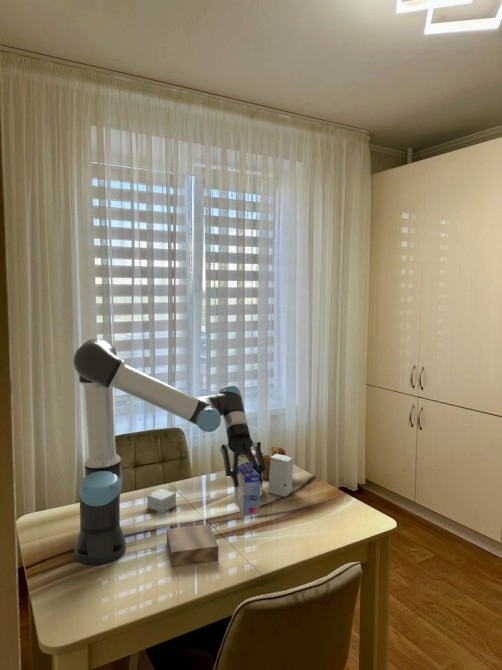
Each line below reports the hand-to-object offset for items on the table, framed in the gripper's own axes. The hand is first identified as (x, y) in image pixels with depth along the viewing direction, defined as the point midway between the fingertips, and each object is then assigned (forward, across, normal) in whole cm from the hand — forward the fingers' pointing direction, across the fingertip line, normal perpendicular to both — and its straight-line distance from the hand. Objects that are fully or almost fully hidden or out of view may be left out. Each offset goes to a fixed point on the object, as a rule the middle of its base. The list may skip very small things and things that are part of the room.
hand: (250, 495), depth 144 cm
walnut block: (+9, +17, -18) cm, 27 cm away
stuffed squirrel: (-26, -29, -53) cm, 65 cm away
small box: (-15, +22, -42) cm, 50 cm away
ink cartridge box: (+1, 0, -7) cm, 7 cm away
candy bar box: (-18, -14, -45) cm, 51 cm away
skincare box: (-15, -26, -41) cm, 51 cm away
